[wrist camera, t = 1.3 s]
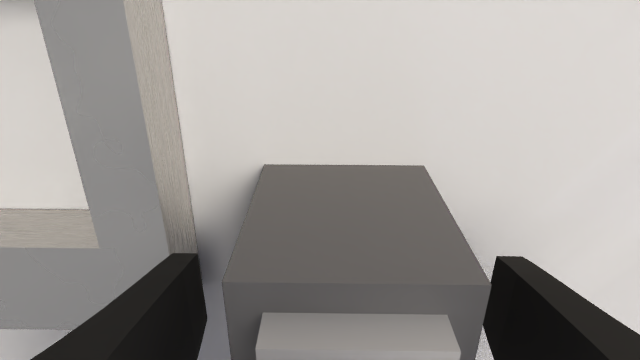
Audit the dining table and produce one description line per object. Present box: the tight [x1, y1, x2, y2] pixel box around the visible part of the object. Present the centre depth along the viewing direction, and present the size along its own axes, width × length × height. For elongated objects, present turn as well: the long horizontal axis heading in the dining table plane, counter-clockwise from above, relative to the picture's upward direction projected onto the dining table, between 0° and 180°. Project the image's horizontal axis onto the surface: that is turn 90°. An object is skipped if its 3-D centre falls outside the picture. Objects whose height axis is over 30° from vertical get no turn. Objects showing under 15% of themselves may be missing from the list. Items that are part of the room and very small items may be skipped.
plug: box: [222, 165, 492, 360], centre depth 10 cm, size 4×4×6 cm
